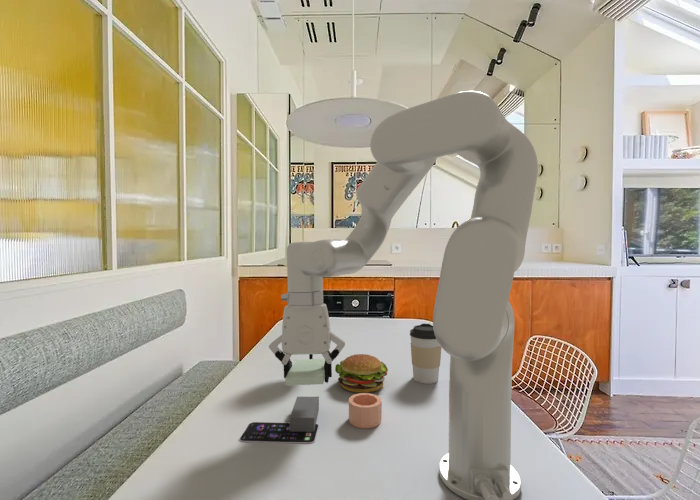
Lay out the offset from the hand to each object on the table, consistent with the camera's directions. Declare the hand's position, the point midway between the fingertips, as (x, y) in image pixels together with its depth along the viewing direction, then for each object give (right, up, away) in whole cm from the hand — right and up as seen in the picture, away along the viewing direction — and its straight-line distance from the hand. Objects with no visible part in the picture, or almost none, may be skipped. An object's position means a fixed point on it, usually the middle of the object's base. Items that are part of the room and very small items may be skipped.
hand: (308, 380), depth 78 cm
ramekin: (+12, -9, +1) cm, 15 cm away
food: (+12, -9, +21) cm, 26 cm away
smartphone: (-5, -10, -4) cm, 12 cm away
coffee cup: (+30, -9, +24) cm, 40 cm away
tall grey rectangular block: (-1, -9, +1) cm, 9 cm away
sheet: (0, +1, 0) cm, 1 cm away
